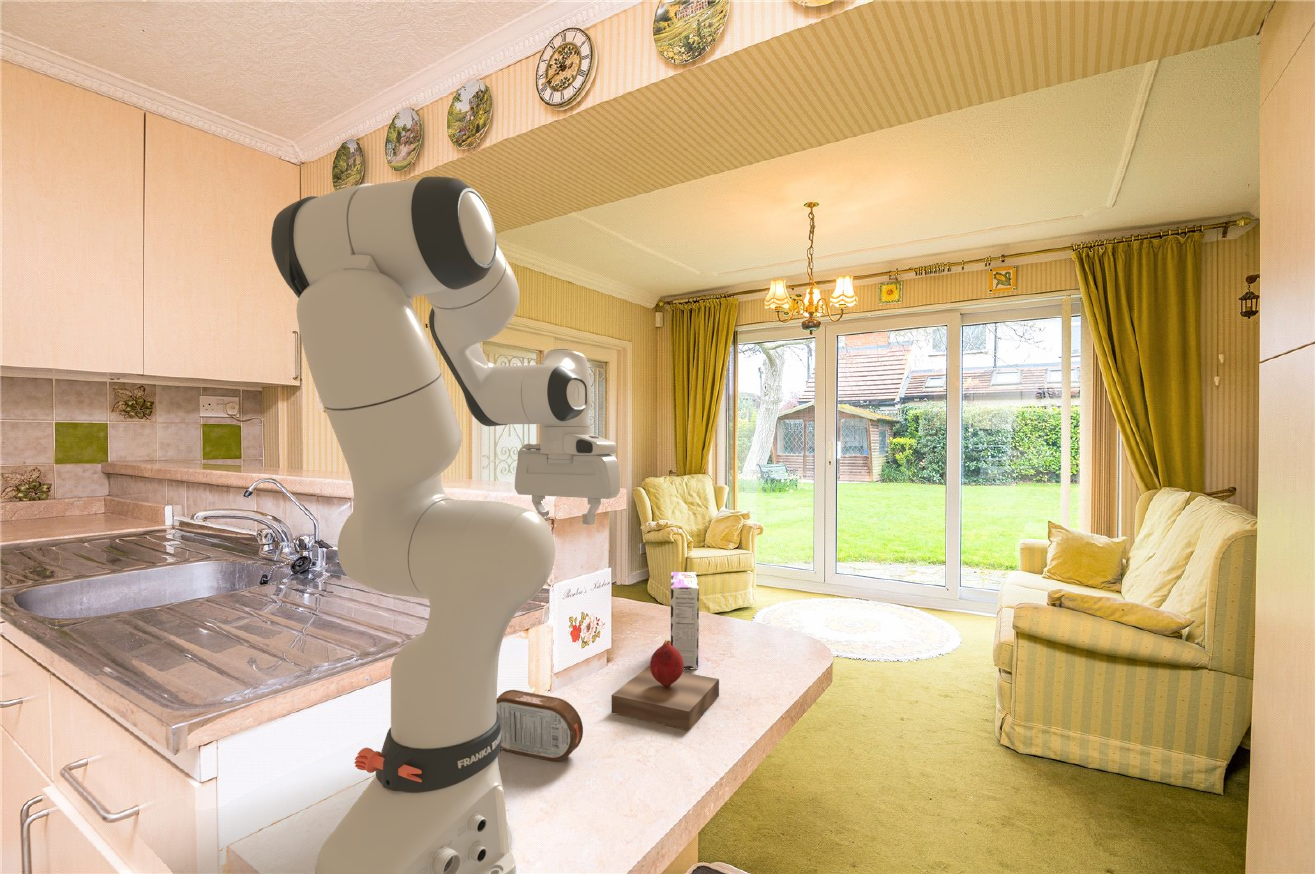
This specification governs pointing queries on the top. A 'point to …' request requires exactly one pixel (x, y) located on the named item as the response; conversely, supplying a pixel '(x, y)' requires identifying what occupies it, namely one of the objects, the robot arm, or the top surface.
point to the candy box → (685, 616)
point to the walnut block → (666, 699)
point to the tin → (538, 725)
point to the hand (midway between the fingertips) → (565, 522)
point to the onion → (666, 664)
